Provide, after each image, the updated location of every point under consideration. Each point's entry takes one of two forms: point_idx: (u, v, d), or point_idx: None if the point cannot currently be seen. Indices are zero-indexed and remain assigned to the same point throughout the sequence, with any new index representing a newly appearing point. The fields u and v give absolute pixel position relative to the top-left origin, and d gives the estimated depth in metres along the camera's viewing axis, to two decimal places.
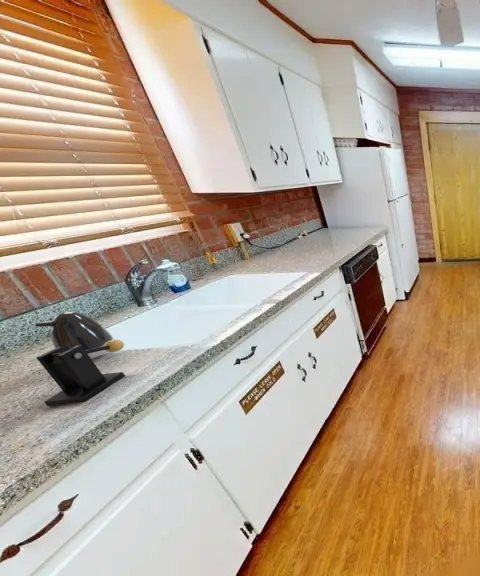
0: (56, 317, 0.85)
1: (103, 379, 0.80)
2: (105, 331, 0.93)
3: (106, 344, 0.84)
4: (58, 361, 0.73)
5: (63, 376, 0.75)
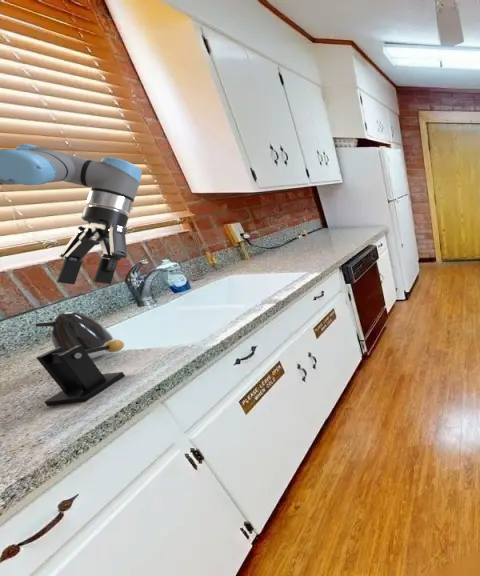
0: (56, 317, 0.85)
1: (103, 379, 0.80)
2: (105, 331, 0.93)
3: (106, 344, 0.84)
4: (58, 361, 0.73)
5: (63, 376, 0.75)
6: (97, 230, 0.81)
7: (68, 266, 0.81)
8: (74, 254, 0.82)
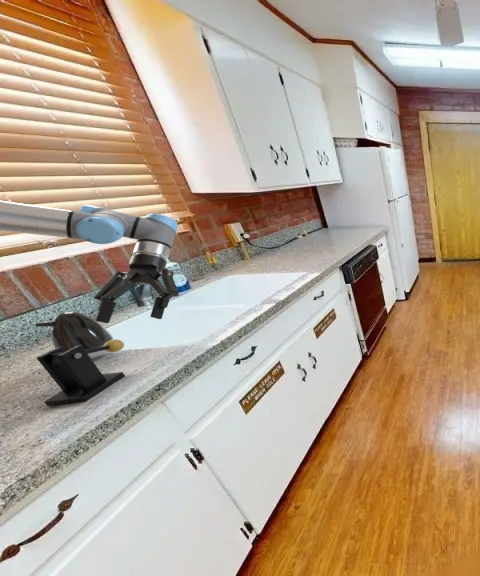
0: (56, 317, 0.85)
1: (103, 379, 0.80)
2: (105, 331, 0.93)
3: (106, 344, 0.84)
4: (58, 361, 0.73)
5: (63, 376, 0.75)
6: (147, 274, 0.93)
7: (107, 306, 0.90)
8: (112, 295, 0.91)
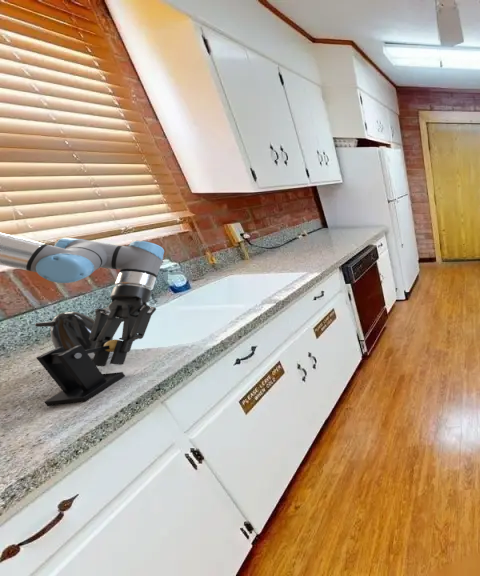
0: (56, 317, 0.85)
1: (103, 379, 0.80)
2: None
3: (106, 344, 0.84)
4: (58, 361, 0.73)
5: (63, 376, 0.75)
6: (128, 308, 0.88)
7: None
8: (107, 334, 0.86)
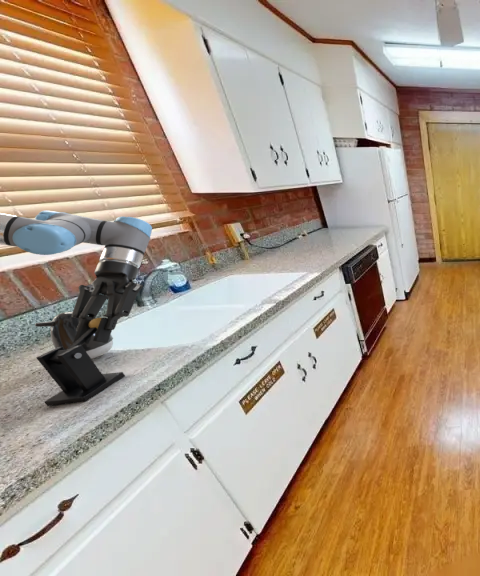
0: (56, 317, 0.85)
1: (103, 379, 0.80)
2: None
3: (91, 326, 0.81)
4: None
5: (63, 376, 0.75)
6: (113, 284, 0.84)
7: (86, 325, 0.81)
8: (90, 311, 0.82)
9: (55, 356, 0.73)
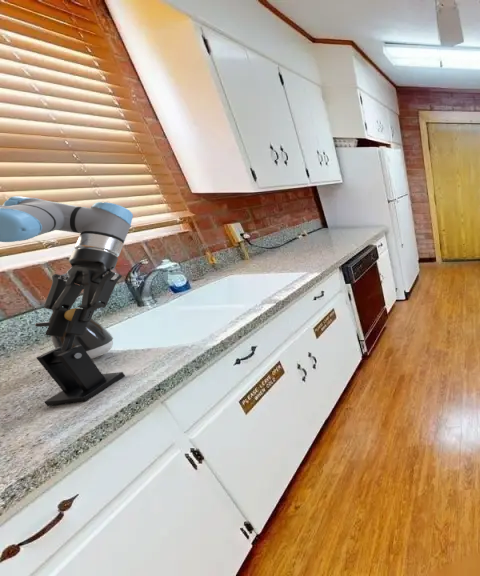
0: None
1: (103, 379, 0.80)
2: (105, 331, 0.93)
3: (70, 320, 0.76)
4: None
5: (63, 376, 0.75)
6: (89, 274, 0.79)
7: (60, 317, 0.75)
8: (65, 302, 0.77)
9: (55, 359, 0.73)
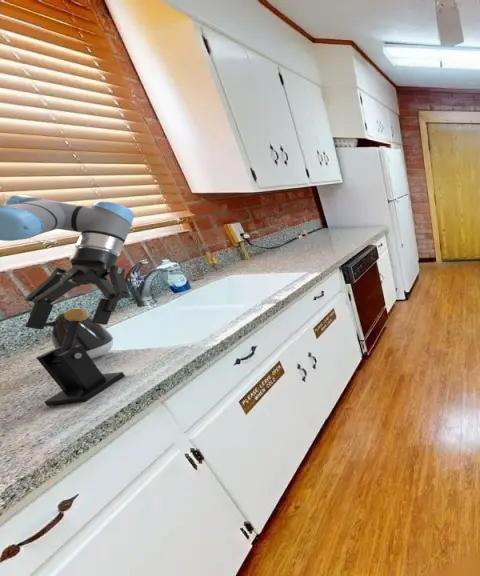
0: (56, 317, 0.85)
1: (103, 379, 0.80)
2: (105, 331, 0.93)
3: (70, 320, 0.76)
4: None
5: (63, 376, 0.75)
6: (91, 271, 0.79)
7: (40, 309, 0.75)
8: (48, 297, 0.77)
9: (55, 359, 0.73)
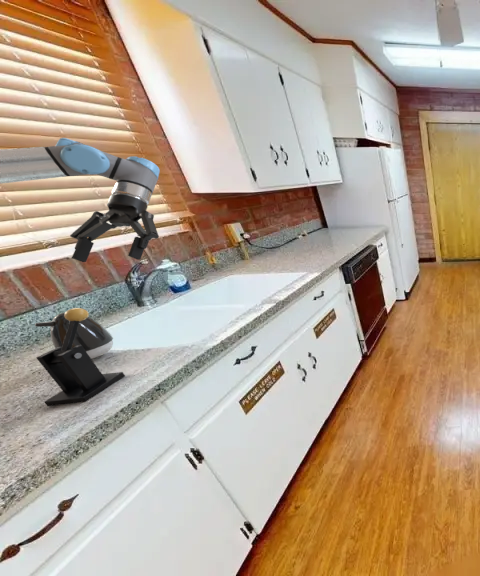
0: (56, 317, 0.85)
1: (103, 379, 0.80)
2: (105, 331, 0.93)
3: (70, 320, 0.76)
4: None
5: (63, 376, 0.75)
6: (126, 214, 0.91)
7: (84, 245, 0.87)
8: (90, 235, 0.89)
9: (55, 359, 0.73)
